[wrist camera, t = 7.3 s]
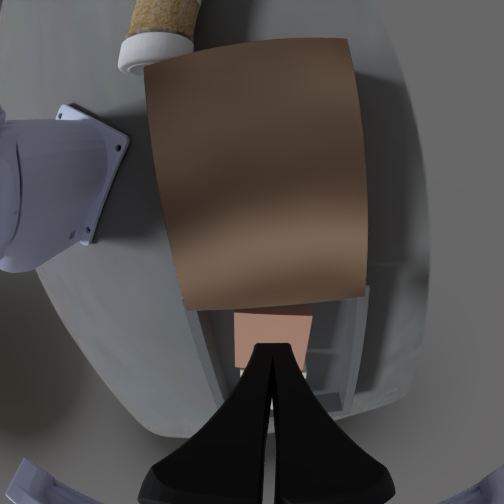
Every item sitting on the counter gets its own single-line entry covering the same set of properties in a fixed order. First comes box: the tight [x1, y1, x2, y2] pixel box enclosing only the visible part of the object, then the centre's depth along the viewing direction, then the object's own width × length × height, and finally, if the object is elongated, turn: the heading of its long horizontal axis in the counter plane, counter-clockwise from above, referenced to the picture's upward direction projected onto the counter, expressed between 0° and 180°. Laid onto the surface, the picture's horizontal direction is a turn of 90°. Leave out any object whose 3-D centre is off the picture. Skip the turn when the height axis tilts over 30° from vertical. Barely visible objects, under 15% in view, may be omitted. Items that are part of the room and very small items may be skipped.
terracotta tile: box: [234, 303, 312, 370], centre depth 19 cm, size 5×5×2 cm
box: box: [183, 280, 370, 422], centre depth 20 cm, size 14×12×3 cm
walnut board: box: [143, 38, 368, 311], centre depth 14 cm, size 14×10×5 cm
